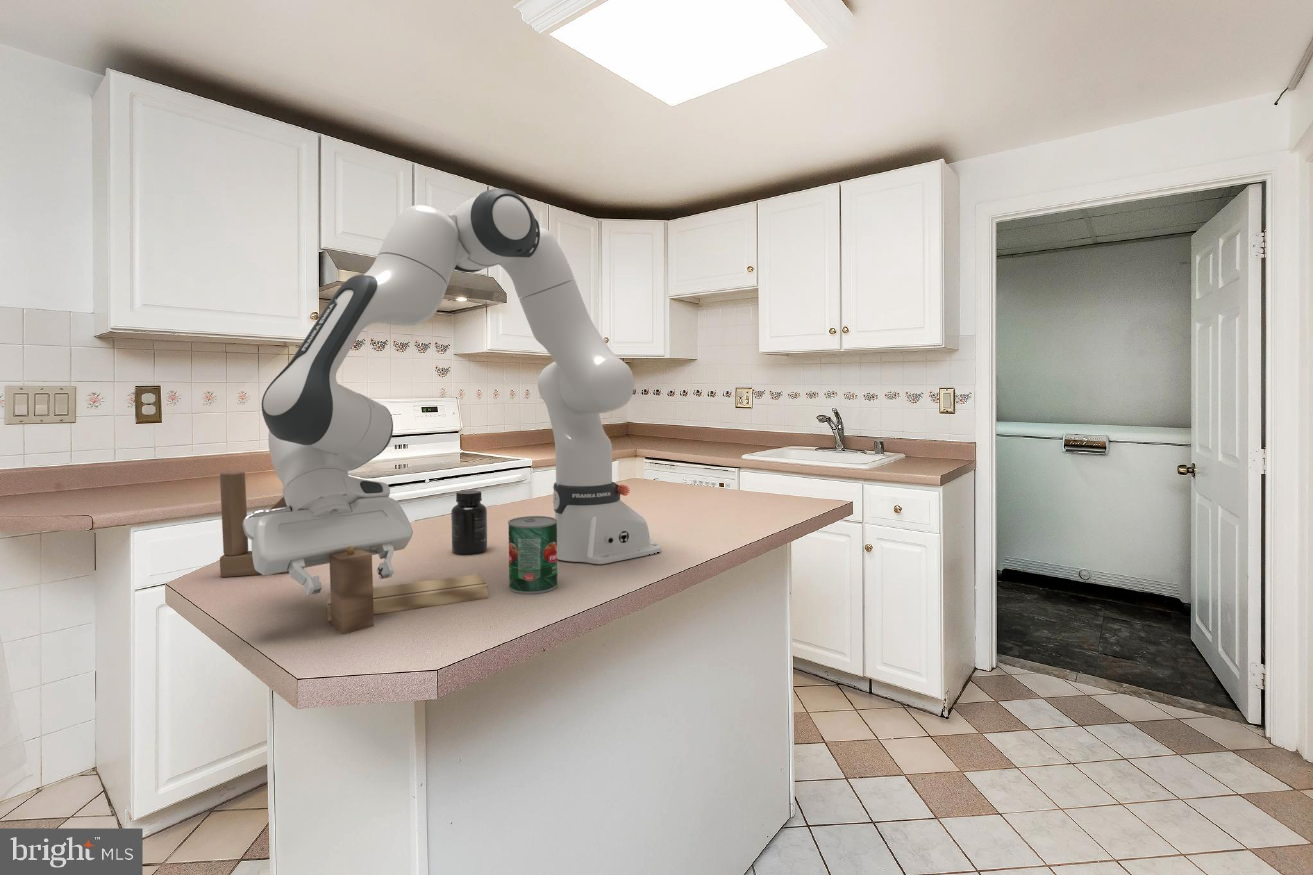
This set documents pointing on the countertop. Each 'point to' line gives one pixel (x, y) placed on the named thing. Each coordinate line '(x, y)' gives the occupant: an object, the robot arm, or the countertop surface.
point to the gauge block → (351, 590)
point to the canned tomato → (532, 554)
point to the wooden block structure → (236, 526)
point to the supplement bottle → (469, 524)
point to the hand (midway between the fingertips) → (352, 583)
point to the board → (425, 594)
